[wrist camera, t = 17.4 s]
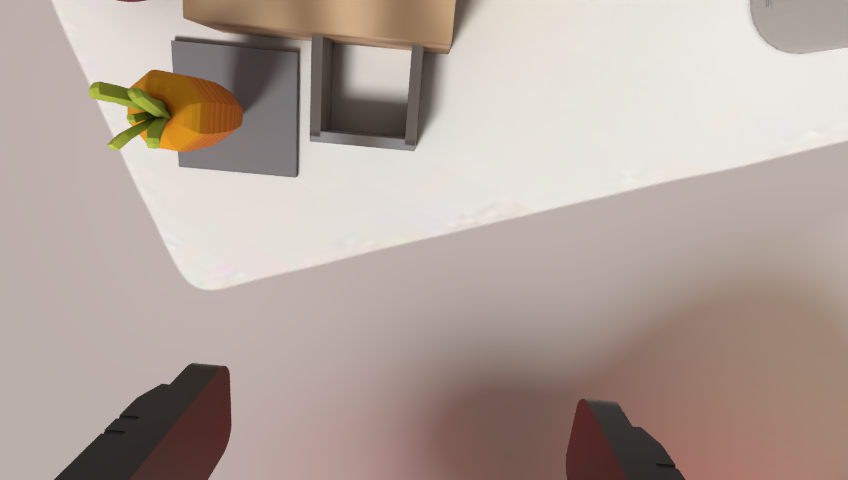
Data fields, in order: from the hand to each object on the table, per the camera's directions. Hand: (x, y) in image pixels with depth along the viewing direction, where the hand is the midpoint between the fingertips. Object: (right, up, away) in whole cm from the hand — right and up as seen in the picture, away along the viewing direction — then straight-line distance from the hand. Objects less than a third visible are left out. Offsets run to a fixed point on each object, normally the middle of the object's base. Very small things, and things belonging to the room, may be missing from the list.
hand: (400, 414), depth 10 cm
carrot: (-15, +15, +27) cm, 34 cm away
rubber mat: (-15, +15, +27) cm, 34 cm away
